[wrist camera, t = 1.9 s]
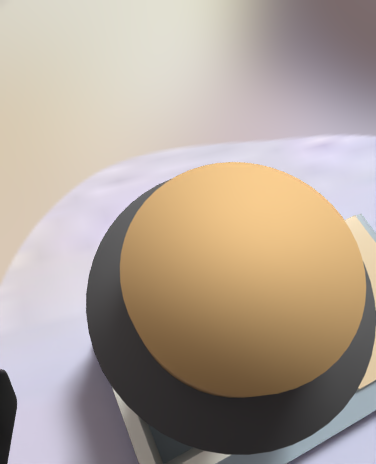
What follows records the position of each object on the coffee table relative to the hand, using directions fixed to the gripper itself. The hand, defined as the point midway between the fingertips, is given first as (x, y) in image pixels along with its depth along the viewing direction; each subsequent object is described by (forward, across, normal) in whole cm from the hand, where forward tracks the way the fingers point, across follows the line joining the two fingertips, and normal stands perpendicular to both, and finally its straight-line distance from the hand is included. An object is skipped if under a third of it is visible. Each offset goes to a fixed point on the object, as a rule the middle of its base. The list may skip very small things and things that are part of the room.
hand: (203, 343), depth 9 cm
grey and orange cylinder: (+6, 0, +6) cm, 8 cm away
